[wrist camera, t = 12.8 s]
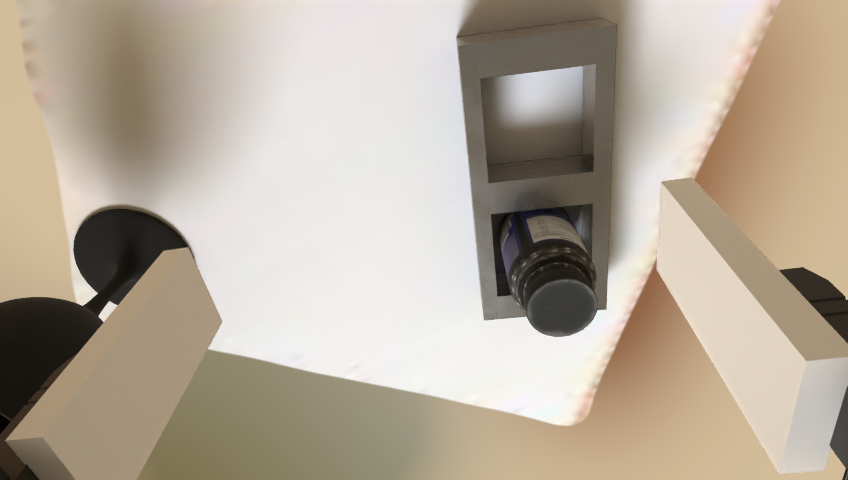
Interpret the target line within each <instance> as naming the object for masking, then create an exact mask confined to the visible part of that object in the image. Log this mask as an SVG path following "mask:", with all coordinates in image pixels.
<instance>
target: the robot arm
mask: <svg viewBox="0 0 848 480" xmlns="http://www.w3.org/2000/svg"><path fill="white" fill-rule="evenodd" d="M657 271H658V272H659V274H660V276H661V277H662V279H663V281H664V282H665V284H666V286H667V287H668V289H669V291H670V292H671V294H672V296H673V297H674V299H675V300H676V302H677V304H678V306H679V307H680V309H681V311H682V312H683V314H684V316H685V317H686V319H687V321H688V322H689V324H690V326H691V327H692V329H693V331H694V332H695V334H696V336H697V337H698V339H699V341H700V342H701V344H702V346H703V348H704V349H705V351H706V352H707V354H708V356H709V357H710V359H711V361H712V363H713V364H714V366H715V368H716V369H717V371H718V373H719V374H720V376H721V377H722V379H723V381H724V383H725V384H726V386H727V387H728V389H729V391H730V393H731V394H732V396H733V398H734V399H735V401H736V403H737V404H738V406H739V408H740V409H741V411H742V413H743V414H744V416H745V418H746V419H747V421H748V423H749V424H750V426H751V428H752V429H753V431H754V433H755V434H756V436H757V438H758V439H759V441H760V443H761V445H762V446H763V448H764V450H765V451H766V453H767V454H768V456H769V458H770V460H771V461H772V463H773V465H774V466H775V468H776V470H777V471H778V473H779V474H783V473H797V472H810V471H822V470H825V466H826V463H827V460H828V457H829V454H830V450H831V448H832V450H833V451H834V452H835V454H836V455H837V457H838V458H839V459H840V461H841V462H842V463H843V465H844V466H845V468H846V470H845V473H844V476H843V479H842V480H848V300H846V299H845V296H844V295H843V294H842V293H841V292H840V291H839V290H838V289H837V288H836V287H834V286H833V284H831V283H830V282H829V281H828V280H827V279H825V278H822V277H821V276H819V275H817V274H815V273H813V272H811V271H809V270H807V269H805V268H803V267H802V268H793V269H784V270H778V269H777V268H776V267H775V266H774V265H773V264H772V263H771V262H770V260H769V259H768V258H767V257H766V256H765V255H764V254H763V253H762V252H761V251H760V250H759V249H758V248H757V247H756V245H755V244H753V242H752V241H751V240H750V239H749V238H748V237H747V236H746V235H745V234H744V233H743V232H742V231H741V229H740V228H738V226H737V225H736V224H735V223H734V222H733V221H732V220H731V219H730V218H729V217H728V216H727V215H726V214H725V212H724V211H723V210H722V209H721V208H720V207H719V206H718V205H717V204H716V203H715V202H714V201H713V200H712V199H711V198H710V197H709V195H708V194H707V193H706V192H705V191H704V190H703V189H702V188H701V187H700V186H699V185H698V184H697V183H696V182H695V181H694V179H693V178H692V177H691V178H684V179H677V180H670V181H663V182H661V191H660V211H659V231H658V251H657ZM221 323H222V320H221V317H220V315H219V313H218V311H217V309H216V306H215V304H214V302H213V300H212V298H211V296H210V293H209V291H208V289H207V287H206V285H205V283H204V280H203V278H202V276H201V274H200V272H199V269H198V267H197V265H196V263H195V261H194V259H193V256H192V254H191V252H190V250H189V248H188V247H187V248H180V249H173V250H166V251H163V252H162V253H161V254H160V256H159V257H158V258H157V259H156V260H155V262H154V263H153V264H152V265H151V266H150V268H149V269H148V270H147V271H146V272H145V274H144V275H143V276H142V277H141V278H140V280H139V281H138V282H137V283H136V284H135V286H134V287H133V288H132V289H131V290H130V292H129V293H128V294H127V295H126V296H125V298H124V299H123V300H122V301H121V302H120V304H119V305H118V306H117V307H116V308H115V310H114V311H113V312H112V313H111V314H110V316H109V317H108V318H107V319H106V320H105V322H104V323H103V324H102V325H101V326H100V328H99V329H98V330H97V331H96V332H95V333H94V335H93V336H92V337H91V338H90V339H89V341H88V342H87V343H86V344H85V345H84V347H83V348H82V349H81V350H80V351H79V353H78V354H75V355H74V356H73V357H71V358H70V359H69V360H67V361H66V362H65V363H64V364H62V365H61V366H60V367H58V368H57V369H56V370H55V371H54V372H53V373H52V374H51V375H50V376H49V378H48V379H47V380H46V381H45V382H44V384H43V385H42V386H41V387H40V391H37V392H36V393H35V394H34V395H33V396H32V398H31V399H30V400H29V401H28V405H25V406H24V407H23V408H22V409H21V410H20V412H19V413H18V414H17V415H16V416H15V417H14V419H13V420H12V421H11V422H10V423H9V424H8V426H7V427H6V428H5V429H4V430H3V431H2V433H1V434H0V480H136V479H137V478H138V476H139V474H140V472H141V470H142V468H143V466H144V465H145V463H146V461H147V459H148V457H149V455H150V454H151V452H152V450H153V448H154V446H155V445H156V443H157V441H158V439H159V437H160V435H161V434H162V432H163V430H164V428H165V426H166V424H167V423H168V421H169V419H170V417H171V415H172V413H173V412H174V410H175V408H176V406H177V404H178V402H179V400H180V399H181V397H182V395H183V393H184V391H185V390H186V388H187V386H188V384H189V382H190V380H191V378H192V377H193V375H194V373H195V371H196V369H197V367H198V365H199V364H200V362H201V360H202V358H203V356H204V355H205V353H206V351H207V349H208V347H209V345H210V344H211V342H212V340H213V338H214V336H215V334H216V333H217V331H218V329H219V327H220V325H221Z"/></svg>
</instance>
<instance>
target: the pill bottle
mask: <svg viewBox="0 0 848 480" xmlns="http://www.w3.org/2000/svg"><path fill="white" fill-rule="evenodd" d="M499 243H500V247H501V251H502V256H503V261H504V265H505V269H506V274H507V279H508V283H509V288H510V292H511V295H512V297H513V299H514V301H515V302H516V304H517V305H518V306H519V307H520V308H521V309H522V310H524V311H525V312H526V315H527V318H528V320H529V322H530V324H531V325H532V326H533V327H534V328H535V329H536V330H537V331H539V332H541V333H543V334H545V335H549V336H553V337H561V336H562V337H563V336H569V335H572V334H575V333H577V332H579V331H581V330H583V329H584V328H585V327H587V326H588V325H589V324H590V323H591V321H592V320H593V319H594V317H595V315H596V313H597V307H598V299H597V296H596V294H595V291H594V290H595V286H596V281H597V278H596V277H597V275H596V270H595V266H594V264H593V262H592V260H591V258H590V256H589V254H588V253H587V251H586V249H585V247H584V245H583V243H582V241H581V238H580V236H579V235H578V233H577V231H576V229H575V227H574V225H573V223H572V221H571V219H570V217H569V215H568V214H567V213H566V211H565V210H564V209H563V208H561V207H554V208H545V209H535V210H526V211H516V212H510V213H508V215H507V216H506V217H505V219H504V220H503V222H502V224H501V227H500V232H499Z"/></svg>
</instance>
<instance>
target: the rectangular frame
mask: <svg viewBox="0 0 848 480" xmlns="http://www.w3.org/2000/svg"><path fill="white" fill-rule="evenodd" d="M616 33H617V25H616V24H614V23H612V22H610V21H608V20H605V19H603V18H598V19H590V20H583V21H575V22H568V23H560V24H553V25H545V26H538V27H530V28H522V29H515V30H507V31H500V32H492V33H485V34H477V35H470V36H462V37H456V40H457V50H458V61H459V71H460V82H461V92H462V102H463V113H464V123H465V134H466V144H467V154H468V165H469V175H470V186H471V196H472V207H473V217H474V227H475V238H476V248H477V259H478V269H479V279H480V290H481V299H482V308H483V316H484V320H494V319H505V318H516V317H527V315H526V312H525V311H524V310H522V309H521V308H520V307H519V306H518V305H517V304H516V302H515V301H514V299H513V297H512V295H511V292H510V288H509V283H508V279H507V274H506V273H495V261H494V248H493V236H492V223H491V214H498V213H507V212H516V211H526V210H535V209H545V208H554V207H564V206H573V205H582V234H581V241H582V243H583V245H584V247H585V249H586V251H587V253H588V254H589V256H590V258H591V260H592V262H593V264H594V266H595V270H596V275H597V277H596V278H597V281H596V286H595V290H594V291H595V294H596V296H597V299H598V307H597V310H604V309H606V305H607V278H608V251H609V223H610V196H611V169H612V142H613V115H614V88H615V61H616ZM578 66H583V129H582V155H577V156H568V157H559V158H550V159H541V160H532V161H524V162H515V163H506V164H497V165H488V166H487V159H486V147H485V134H484V121H483V109H482V96H481V83H480V79H482V78H490V77H498V76H506V75H514V74H522V73H530V72H538V71H546V70H554V69H562V68H570V67H578Z"/></svg>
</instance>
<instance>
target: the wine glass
mask: <svg viewBox="0 0 848 480" xmlns="http://www.w3.org/2000/svg"><path fill="white" fill-rule="evenodd" d="M187 247H188V246H187V245H186V243H185V242H184V241H183V239H182V238H181V237H180V236H179V235H178V234H177V233H176V232H175V231H174V230H173V229H172V228H170V227H169V226H168V225H166V224H165V223H163V222H162V221H160V220H158V219H157V218H155V217H152V216H150V215H148V214H145V213H141V212H138V211H133V210H128V209H113V210H107V211H103V212H100V213H98V214H96V215H94V216H92V217H91V218H89V219H88V220H87V221H85V222H84V223H83V224H82V226H81V227H80V228H79V230H78V232H77V234H76V236H75V240H74V257H75V261H76V264H77V267H78V269H79V271H80V273H81V274H82V276H83V277H84V279H85V280H86V282H87V283H88V284H89V285H90V286H91V287H92V288H93V289H94V290H95V291H96V292H97V293H98V294H97V295H96V296H95V297H93V298H92V299H91V300H90V301H89V302H88V303H86V304H85V305H84V306H81V305H79V304H76V303H73V302H70V301H66V300H62V299H56V298H48V297H31V298H21V299H14V300H9V301H6V302H2V303H0V434H1V433H2V431H3V430H4V429H5V428H6V427H7V426H8V424H9V423H10V422H11V421H12V420H13V419H14V417H15V416H16V415H17V414H18V413H19V412H20V410H21V409H22V408H23V407H24V406H25V405H28V401H29V400H30V399H31V398H32V396H33V395H34V394H35V393H36V392H37V391H40V387H41V386H42V385H43V384H44V382H45V381H46V380H47V379H48V378H49V376H50V375H51V374H52V373H53V372H54V371H55V370H56V369H57V368H58V367H60V366H61V365H62V364H64V363H65V362H66V361H67V360H69V359H70V358H71V357H73V356H74V355H75V354H78V353H79V351H80V350H81V349H82V348H83V347H84V345H85V344H86V343H87V342H88V341H89V339H90V338H91V337H92V336H93V335H94V333H95V332H96V331H97V330H98V329H99V328H100V326H101V325H102V324H103V323H104V322H103V321H102V320H101V319H100V318H99V317H98V316H99V314H100V313H101V311H102V310H103V308H104V307H105V306H106V304H107V303H108V302H109V301H111V302H112V303H114V304H116V305H119V304H120V302H121V301H122V300H123V299H124V298H125V296H126V295H127V294H128V293H129V292H130V290H131V289H132V288H133V287H134V286H135V284H136V283H137V282H138V281H139V280H140V278H141V277H142V276H143V275H144V274H145V272H146V271H147V270H148V269H149V268H150V266H151V265H152V264H153V263H154V262H155V260H156V259H157V258H158V257H159V256H160V254H161V253H162V252H163V251H166V250H173V249H180V248H187Z"/></svg>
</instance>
